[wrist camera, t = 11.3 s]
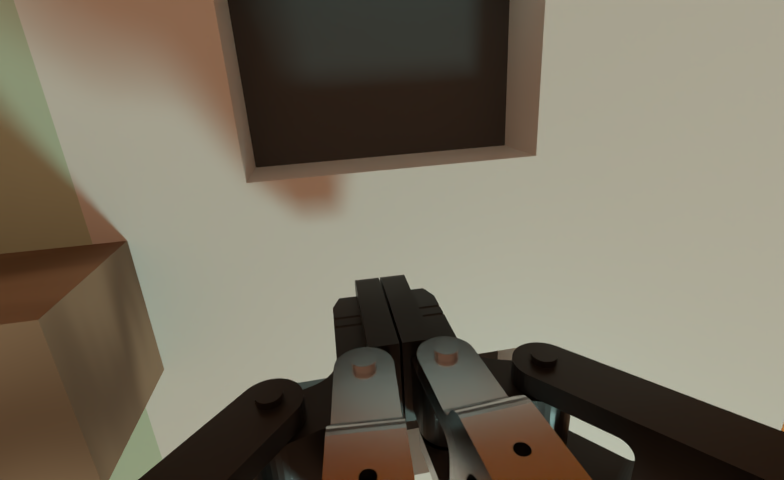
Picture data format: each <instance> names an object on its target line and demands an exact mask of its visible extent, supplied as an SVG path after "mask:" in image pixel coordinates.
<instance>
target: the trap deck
mask: <svg viewBox="0 0 784 480" xmlns="http://www.w3.org/2000/svg"><path fill="white" fill-rule="evenodd" d="M120 241H128V245H129V248H130V252H131V255H132V259H133V262H134V266H135V269H136V273H137V276H138V280H139V283H140V287H141V290H142V294H143V297H144V301H145V304H146V308H147V311H148V315H149V318H150V322H151V325H152V329H153V332H154V336H155V339H156V342H157V346H158V349H159V353H160V356H161V360H162V363H163V367H164V371H163V373H162V375H161V377H160V379H159V381H158V383H157V385H156V387H155V389H154V391H153V393H152V395H151V397H150V399H149V401H148V403H147V405H146V407H145V409H144V411H143V413H142V415H141V417H140V419H139V421H138V423H137V425H136V427H135V429H134V431H133V433H132V435H131V437H130V439H129V441H128V443H127V445H126V447H125V449H124V451H123V453H122V455H121V457H120V459H119V461H118V463H117V465H116V467H115V469H114V471H113V473H112V475H111V477H110V479H109V480H138V479H139V478H141V477H142V476H143V475H144V474H145V473H147V472H148V471H149V470H150V469H151V468H153V467H154V466H155V465H156V464H158V463H159V462H160V461H161V460H162V459H164V458H165V457H166V456H167V455H168V454H170V453H171V452H172V451H173V450H174V449H176V448H177V447H178V446H179V445H180V444H182V443H183V442H184V441H185V440H187V439H188V438H189V437H190V436H191V435H193V434H194V433H195V432H196V431H197V430H199V429H200V428H201V427H202V426H203V425H205V424H206V423H207V422H208V421H210V420H211V419H212V418H213V417H214V416H216V415H217V414H218V413H219V412H220V411H222V410H223V409H224V408H225V407H226V406H228V405H229V404H230V403H231V402H232V401H234V400H235V399H236V398H237V397H239V396H240V395H241V394H242V393H243V392H245V391H246V390H247V389H248V388H250V387H251V386H253V385H255V384H257V383H259V382H262V381H265V380H269V379H276V378H284V379H289V380H293V381H295V382H297V383H298V384H299V385H300V386H301V387H302V389H306V388H308V387H311V386H313V385H316V384H318V383H320V382H321V381H323V380H324V379H326V378H327V377H328V376H329V375H330V374H331V373H332V372H333V371H334V364H335V362H336V360H337V356H336V344H335V331H334V318H333V307H334V305H335V304H336V302H337V301H338V299H339V298H346V297H355V296H356V292H355V280H362V279H370V278H379V280H380V277H387V276H395V275H404V276H405V278H406V280H407V282H408V284H409V287H410V289H411V290H412V289H420V288H424V289H425V290H427V291H428V292H430V293H431V294H433V295H434V296H435V298H436V300H437V302H438V304H439V307H441V309H442V311H443V314H444V315H445V317H446V319H447V320H448V322H449V324H450V326H451V328H452V330H453V332H454V333H455V335H456V337H457V338H459V339H462V340H464V341H466V342H468V343H469V344H470V345H471V346H472V347H473V348H474V349H475V351H476V352H477V354H478V355H479V356H480V357H484V358H489V359H500V360H512V354H513V351H514V350H515V349H516V348H517V347H519V346H521V345H523V344H526V343H532V342H541V343H548V344H552V345H555V346H558V347H561V348H563V349H566V350H569V351H571V352H574V353H577V354H579V355H582V356H584V357H587V358H590V359H592V360H595V361H598V362H600V363H603V364H606V365H608V366H611V367H614V368H616V369H619V370H622V371H624V372H627V373H629V374H632V375H635V376H637V377H640V378H643V379H645V380H648V381H651V382H653V383H656V384H659V385H661V386H664V387H667V388H669V389H672V390H674V391H677V392H680V393H682V394H685V395H688V396H690V397H693V398H696V399H698V400H701V401H704V402H706V403H709V404H712V405H714V406H717V407H719V408H722V409H725V410H727V411H730V412H733V413H735V414H738V415H741V416H743V417H746V418H749V419H751V420H754V421H757V422H759V423H762V424H764V425H767V426H770V427H772V428H775V429H778V430H780V431H781V428H782V425H783V422H784V0H0V254H5V253H14V252H24V251H34V250H43V249H53V248H63V247H72V246H82V245H92V244H101V243H111V242H120ZM403 418H405V416H404V413H403ZM405 422H406V420H405ZM406 427H407V434H408V440H409V446H410V452H411V459H412V465H413V471H414V478H415V480H432V477H431V475H430V472H429V469H428V467H427V464H426V462H425V459H424V456H423V454H422V451H421V448H420V442H419V426H418V423H417V420H414V421H408V422H406ZM569 430H570V431H572V432H574V433H576V434H578V435H580V436H582V437H584V438H586V439H588V440H590V441H592V442H594V443H596V444H598V445H600V446H602V447H604V448H606V449H608V450H610V451H612V452H614V453H616V454H618V455H620V456H622V457H624V458H626V459H629V460H632V461H635V457H634V453H633V451H632V450H631V448H630V447H629V446H628V445H627V444H626V443H625V442H624V441H623V440H621V439H620V438H618V437H616V436H614V435H612V434H609V433H607V432H605V431H603V430H601V429H599V428H597V427H595V426H592V425H590V424H588V423H586V422H584V421H582V420H580V419H578V418H576V417H573V416H571V415H570V423H569Z"/></svg>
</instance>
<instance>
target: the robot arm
mask: <svg viewBox="0 0 784 480" xmlns="http://www.w3.org/2000/svg"><path fill="white" fill-rule="evenodd" d="M355 292H356V296H355V297H346V298H339V299H338V301H337V302H336V304H335V305H334V307H333V318H334V331H335V344H336V356H337V360H336V362H335V364H334V371H333V372H332V373H331V374H330V375H329V376H328V377H327V378H326V379H324V380H323V381H321V382H320V383H318V384H316V385H313V386H311V387H308V388H306V389H302V387H301V386H300V385H299V384H298V383H297V382H295V381H293V380H289V379H284V378H276V379H269V380H265V381H262V382H259V383H257V384H255V385H253V386H251V387H250V388H248V389H247V390H246V391H245V392H243V393H242V394H241V395H240V396H239V397H237V398H236V399H235V400H234V401H232V402H231V403H230V404H229V405H228V406H226V407H225V408H224V409H223V410H222V411H220V412H219V413H218V414H217V415H216V416H214V417H213V418H212V419H211V420H210V421H208V422H207V423H206V424H205V425H203V426H202V427H201V428H200V429H199V430H197V431H196V432H195V433H194V434H193V435H191V436H190V437H189V438H188V439H187V440H185V441H184V442H183V443H182V444H180V445H179V446H178V447H177V448H176V449H174V450H173V451H172V452H171V453H170V454H168V455H167V456H166V457H165V458H164V459H162V460H161V461H160V462H159V463H158V464H156V465H155V466H154V467H153V468H151V469H150V470H149V471H148V472H147V473H145V474H144V475H143V476H142V477H141V478H139V479H138V480H415V478H414V471H413V465H412V459H411V452H410V446H409V440H408V434H407V427H406V422H408V421H414V420H417V423H418V426H419V442H420V448H421V451H422V454H423V456H424V459H425V462H426V464H427V467H428V469H429V472H430V475H431V477H432V480H784V432H783V431H780V430H778V429H775V428H772V427H770V426H767V425H764V424H762V423H759V422H757V421H754V420H751V419H749V418H746V417H743V416H741V415H738V414H735V413H733V412H730V411H727V410H725V409H722V408H719V407H717V406H714V405H712V404H709V403H706V402H704V401H701V400H698V399H696V398H693V397H690V396H688V395H685V394H682V393H680V392H677V391H674V390H672V389H669V388H667V387H664V386H661V385H659V384H656V383H653V382H651V381H648V380H645V379H643V378H640V377H637V376H635V375H632V374H629V373H627V372H624V371H622V370H619V369H616V368H614V367H611V366H608V365H606V364H603V363H600V362H598V361H595V360H592V359H590V358H587V357H584V356H582V355H579V354H577V353H574V352H571V351H569V350H566V349H563V348H561V347H558V346H555V345H552V344H548V343H541V342H532V343H526V344H523V345H521V346H519V347H517V348H516V349H515V350H514V351H513V354H512V360H500V359H489V358H484V357H480V356H479V355H478V354H477V352H476V351H475V349H474V348H473V347H472V346H471V345H470V344H469V343H468V342H466V341H464V340H462V339H459V338H457V337H456V335H455V333H454V332H453V330H452V328H451V326H450V324H449V322H448V320H447V319H446V317H445V315H444V314H443V311H442V309H441V307H439V304H438V302H437V300H436V298H435V296H434V295H433V294H431V293H430V292H428V291H427V290H425V289H424V288H420V289H412V290H411V289H410V287H409V284H408V282H407V280H406V278H405V276H404V275H395V276H387V277H380V280H379V278H370V279H362V280H355ZM403 413H404V416H405V418H403ZM570 415H571V416H573V417H576V418H578V419H580V420H582V421H584V422H586V423H588V424H590V425H592V426H595V427H597V428H599V429H601V430H603V431H605V432H607V433H609V434H612V435H614V436H616V437H618V438H620V439H621V440H623V441H624V442H625V443H626V444H627V445H628V446H629V447H630V448H631V450H632V451H633V453H634V457H635V461H632V460H629V459H626V458H624V457H622V456H620V455H618V454H616V453H614V452H612V451H610V450H608V449H606V448H604V447H602V446H600V445H598V444H596V443H594V442H592V441H590V440H588V439H586V438H584V437H582V436H580V435H578V434H576V433H574V432H572V431H570V430H569V423H570ZM405 420H406V422H405Z"/></svg>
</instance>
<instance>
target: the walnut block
mask: <svg viewBox="0 0 784 480" xmlns="http://www.w3.org/2000/svg"><path fill="white" fill-rule="evenodd" d="M163 371H164V367H163V363H162V360H161V356H160V353H159V349H158V346H157V342H156V339H155V336H154V332H153V329H152V325H151V322H150V318H149V315H148V311H147V308H146V304H145V301H144V297H143V294H142V290H141V287H140V283H139V280H138V276H137V273H136V269H135V266H134V262H133V259H132V255H131V252H130V248H129V245H128V241H120V242H111V243H101V244H92V245H82V246H72V247H63V248H53V249H43V250H34V251H24V252H14V253H5V254H0V480H109V479H110V477H111V475H112V473H113V471H114V469H115V467H116V465H117V463H118V461H119V459H120V457H121V455H122V453H123V451H124V449H125V447H126V445H127V443H128V441H129V439H130V437H131V435H132V433H133V431H134V429H135V427H136V425H137V423H138V421H139V419H140V417H141V415H142V413H143V411H144V409H145V407H146V405H147V403H148V401H149V399H150V397H151V395H152V393H153V391H154V389H155V387H156V385H157V383H158V381H159V379H160V377H161V375H162V373H163Z"/></svg>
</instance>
